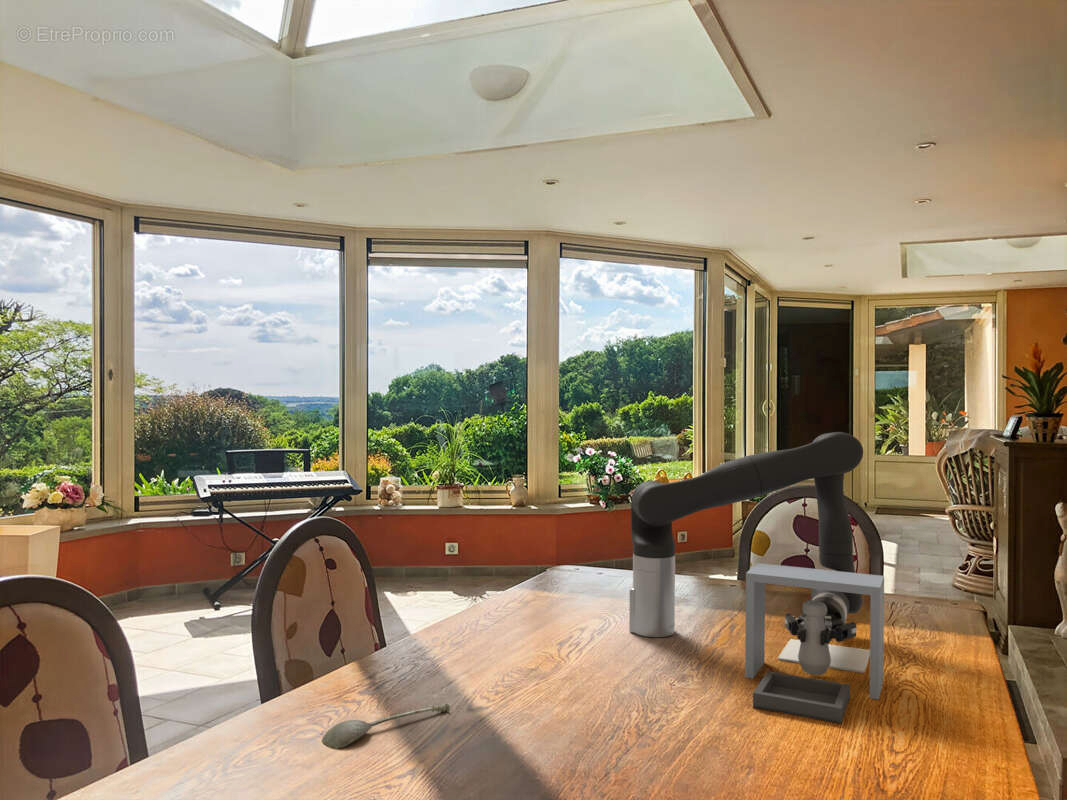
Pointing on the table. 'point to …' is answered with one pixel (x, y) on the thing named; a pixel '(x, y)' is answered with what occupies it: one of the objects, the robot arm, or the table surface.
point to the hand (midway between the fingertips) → (812, 638)
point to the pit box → (802, 696)
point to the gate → (813, 580)
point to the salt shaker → (814, 640)
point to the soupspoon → (363, 728)
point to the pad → (832, 656)
